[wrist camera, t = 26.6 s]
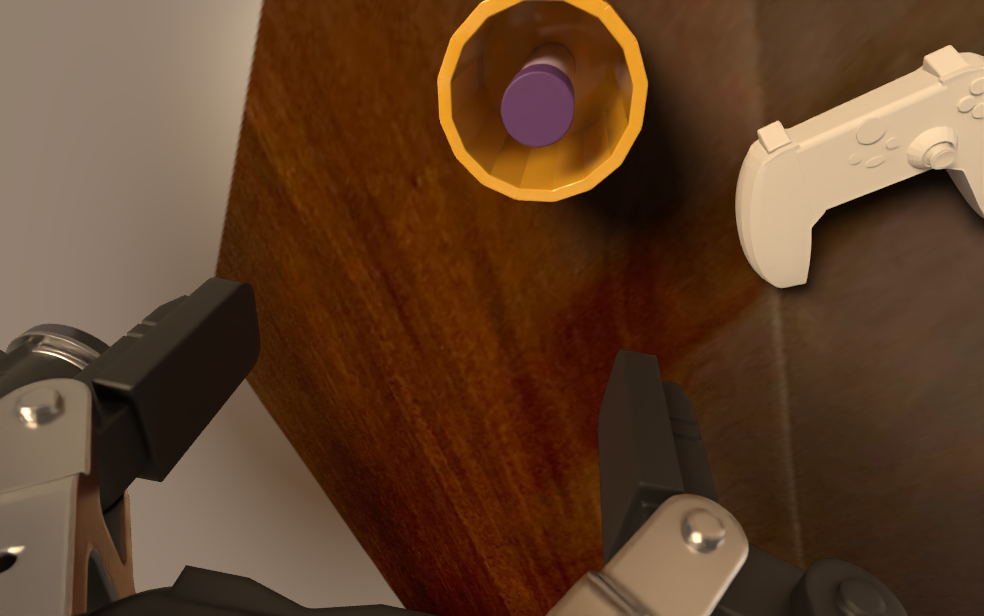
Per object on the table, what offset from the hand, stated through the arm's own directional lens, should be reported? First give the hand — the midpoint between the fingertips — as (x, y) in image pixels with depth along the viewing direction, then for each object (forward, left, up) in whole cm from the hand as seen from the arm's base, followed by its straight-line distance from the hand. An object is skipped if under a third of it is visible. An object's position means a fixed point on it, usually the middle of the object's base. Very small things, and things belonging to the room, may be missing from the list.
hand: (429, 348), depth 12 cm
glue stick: (0, +2, -24) cm, 24 cm away
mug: (-1, +3, -24) cm, 25 cm away
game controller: (+17, +9, -25) cm, 31 cm away
